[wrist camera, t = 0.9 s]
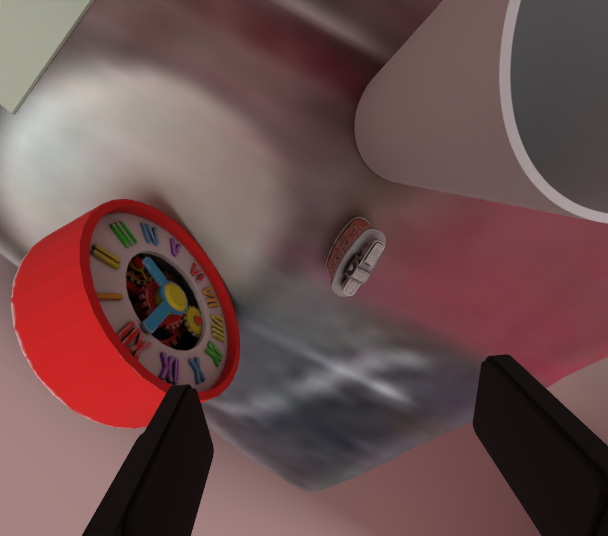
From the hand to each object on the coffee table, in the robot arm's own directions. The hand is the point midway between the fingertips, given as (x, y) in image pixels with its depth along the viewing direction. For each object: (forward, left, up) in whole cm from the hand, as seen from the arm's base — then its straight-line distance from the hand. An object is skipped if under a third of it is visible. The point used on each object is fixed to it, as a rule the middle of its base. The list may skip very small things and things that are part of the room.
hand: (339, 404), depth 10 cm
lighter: (-2, +5, -28) cm, 29 cm away
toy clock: (+15, -6, -28) cm, 33 cm away
